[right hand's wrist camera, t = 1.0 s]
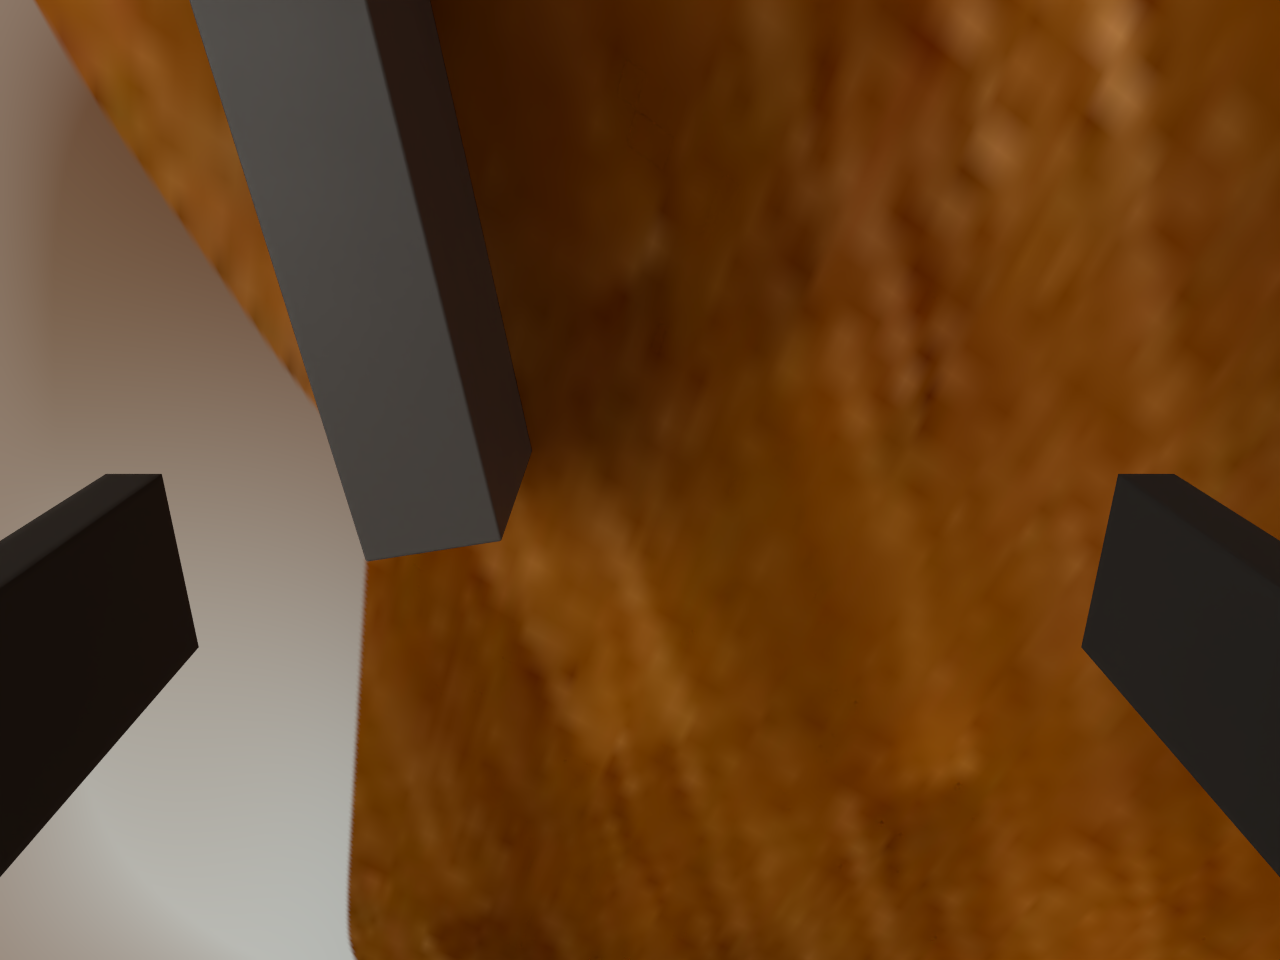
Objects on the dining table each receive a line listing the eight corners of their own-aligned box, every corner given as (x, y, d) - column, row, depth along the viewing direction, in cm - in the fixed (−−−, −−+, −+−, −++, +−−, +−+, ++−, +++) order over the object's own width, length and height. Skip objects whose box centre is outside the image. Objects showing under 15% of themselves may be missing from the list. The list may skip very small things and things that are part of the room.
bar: (532, 451, 37) (501, 541, 29) (425, 469, 38) (365, 562, 29) (384, -202, 29) (283, -337, 21) (249, -174, 29) (94, -296, 21)
